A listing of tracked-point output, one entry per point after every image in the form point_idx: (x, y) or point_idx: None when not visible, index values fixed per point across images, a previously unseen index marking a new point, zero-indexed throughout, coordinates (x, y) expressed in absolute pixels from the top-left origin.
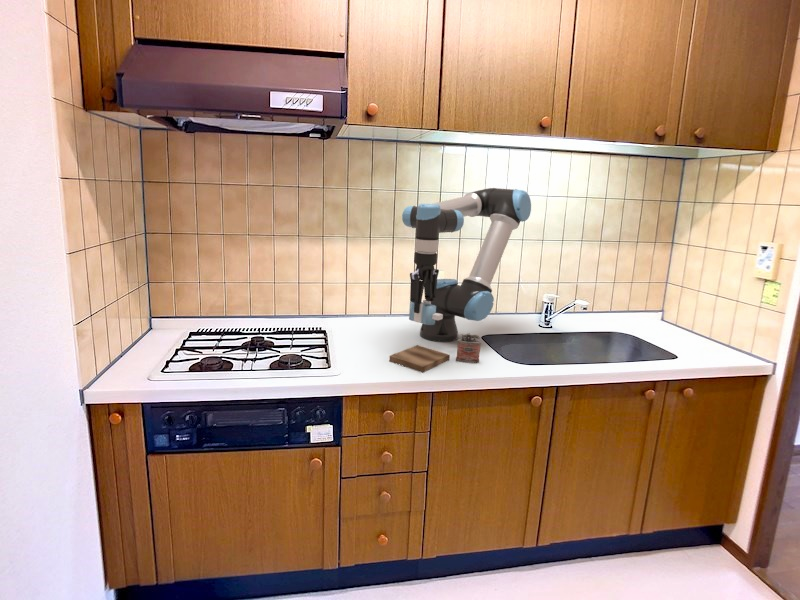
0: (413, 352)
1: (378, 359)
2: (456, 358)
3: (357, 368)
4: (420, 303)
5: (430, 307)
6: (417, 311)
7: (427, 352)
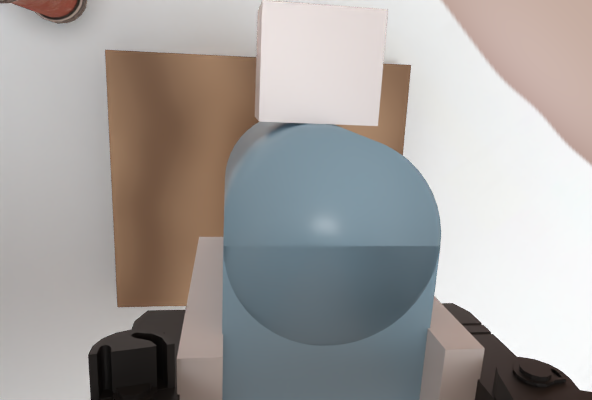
0: None
1: None
2: (77, 11)
3: (545, 327)
4: (510, 360)
5: (424, 180)
6: (471, 314)
7: (185, 183)
